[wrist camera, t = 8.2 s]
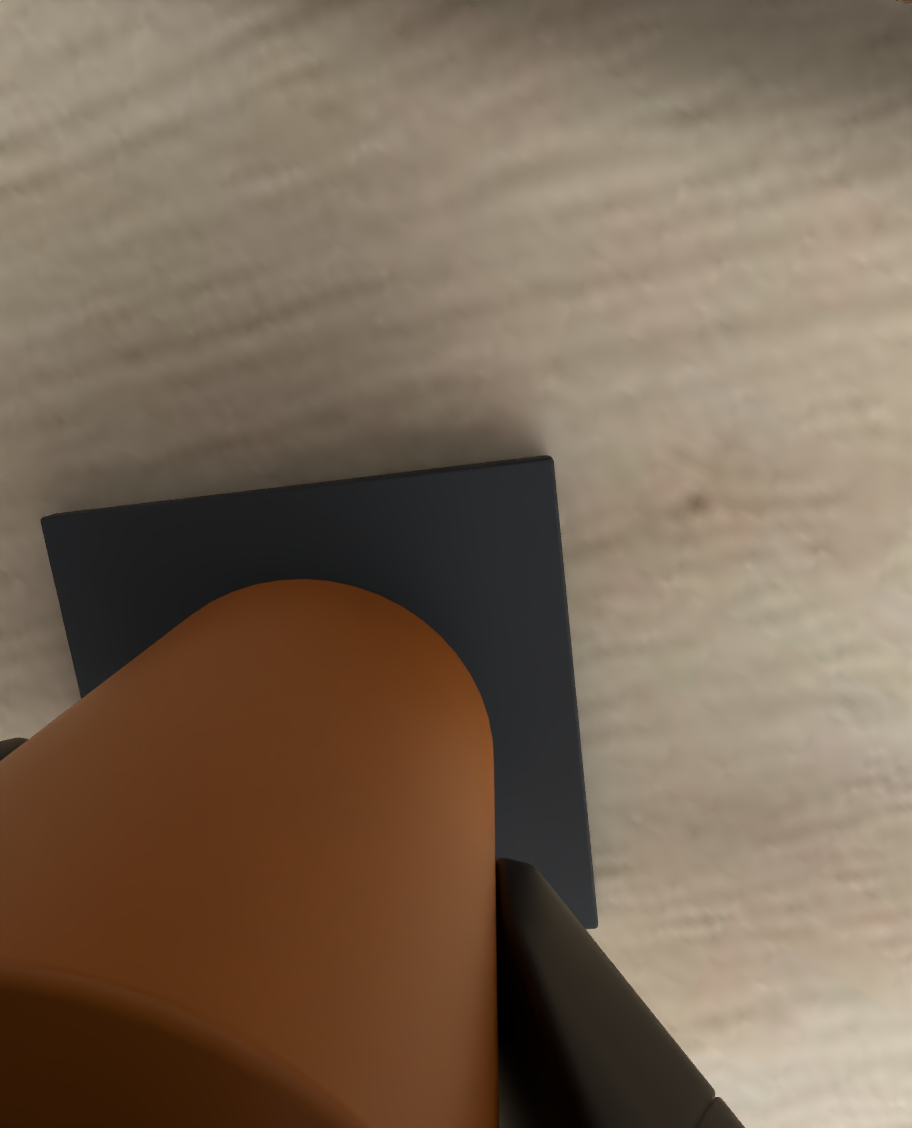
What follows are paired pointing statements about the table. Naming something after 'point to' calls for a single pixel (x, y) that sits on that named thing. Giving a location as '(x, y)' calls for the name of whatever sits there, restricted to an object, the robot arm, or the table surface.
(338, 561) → the coaster
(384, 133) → the table surface
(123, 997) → the spice bottle
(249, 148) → the table surface
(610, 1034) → the robot arm
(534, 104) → the table surface
